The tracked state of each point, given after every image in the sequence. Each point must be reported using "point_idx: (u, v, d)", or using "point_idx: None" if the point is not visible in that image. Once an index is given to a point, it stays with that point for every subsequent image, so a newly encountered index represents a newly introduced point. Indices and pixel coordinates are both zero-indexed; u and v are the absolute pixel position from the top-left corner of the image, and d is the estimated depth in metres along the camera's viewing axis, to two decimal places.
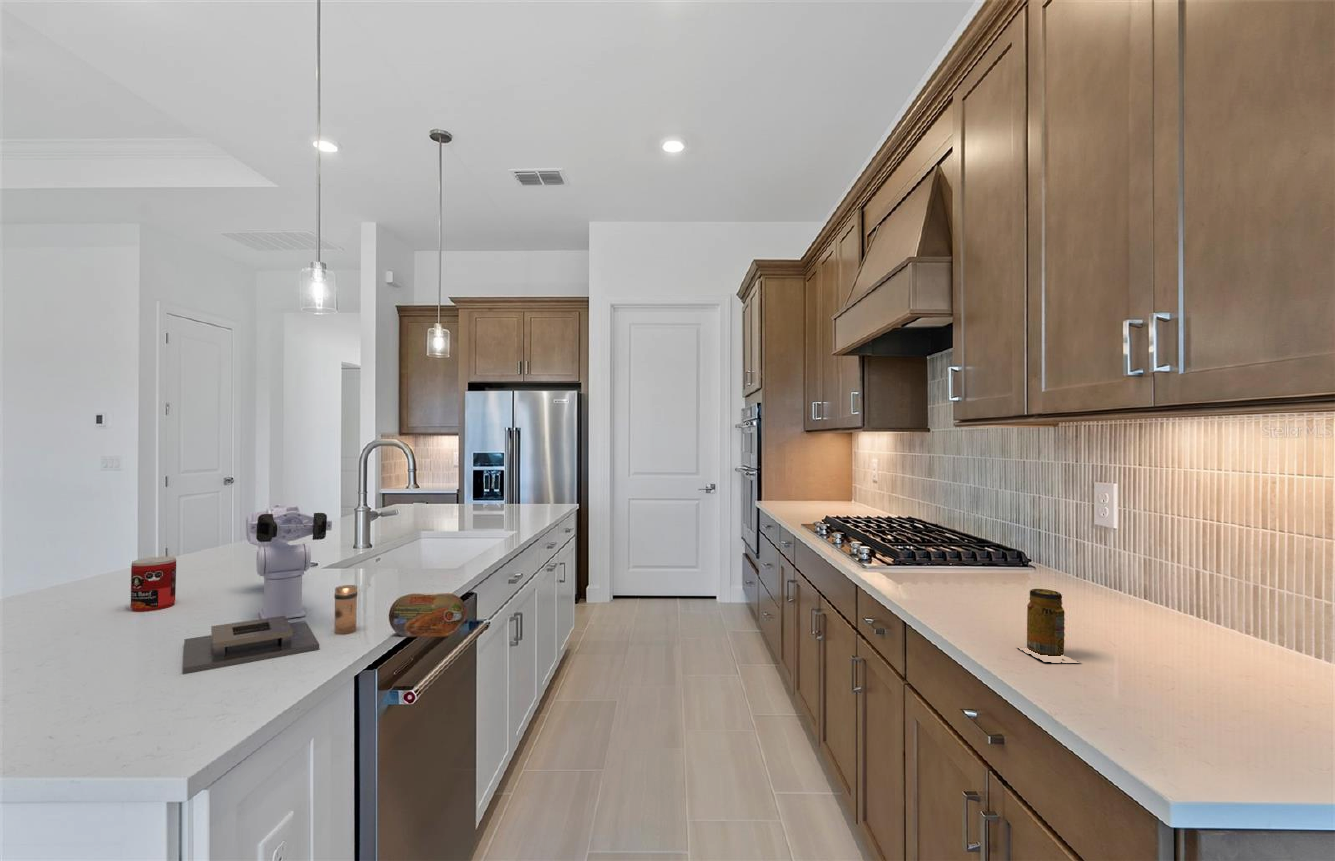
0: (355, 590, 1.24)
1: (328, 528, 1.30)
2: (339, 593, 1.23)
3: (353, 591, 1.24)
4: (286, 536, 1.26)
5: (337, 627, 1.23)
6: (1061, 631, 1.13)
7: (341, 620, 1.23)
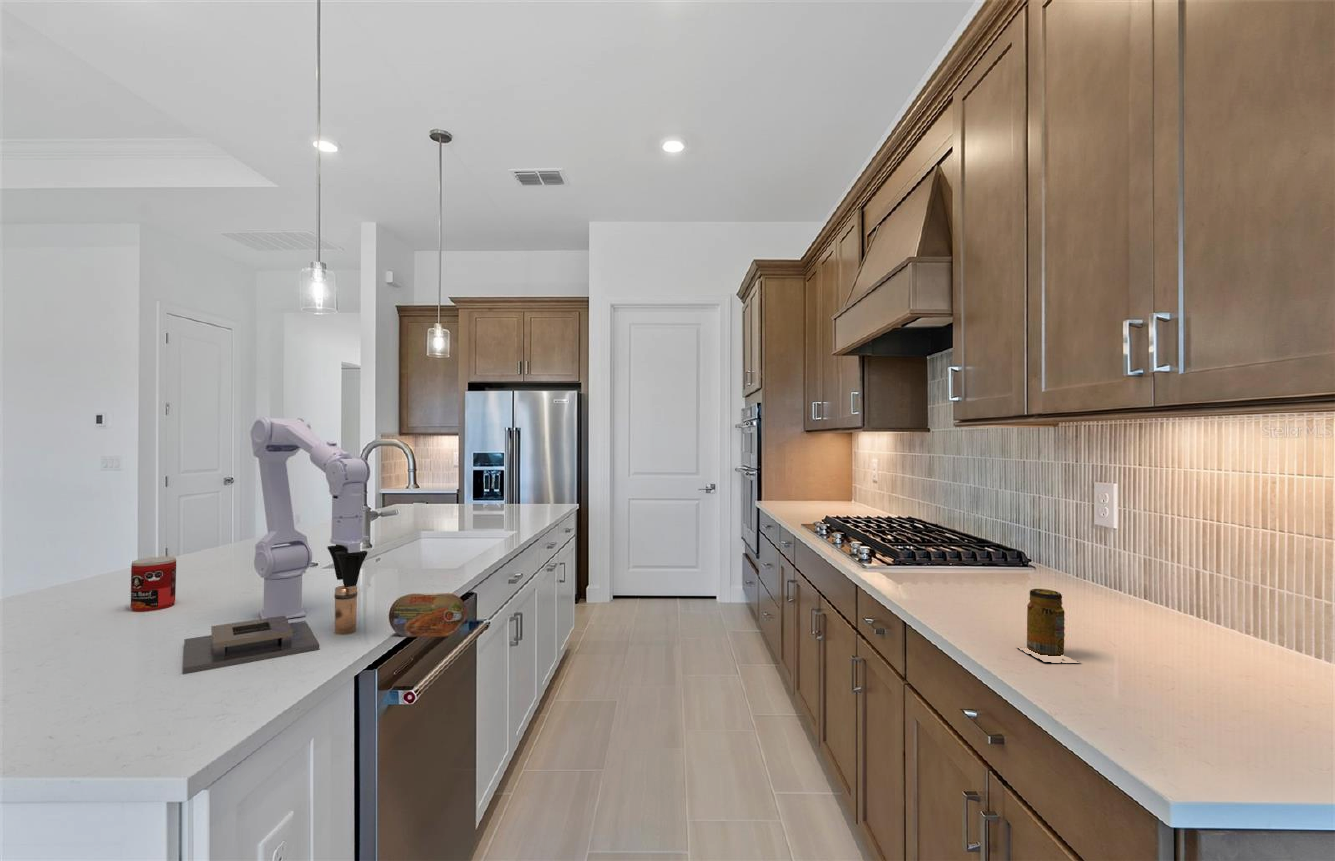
0: (355, 590, 1.24)
1: None
2: (339, 593, 1.23)
3: (353, 591, 1.24)
4: None
5: (337, 627, 1.23)
6: (1061, 631, 1.13)
7: (341, 620, 1.23)
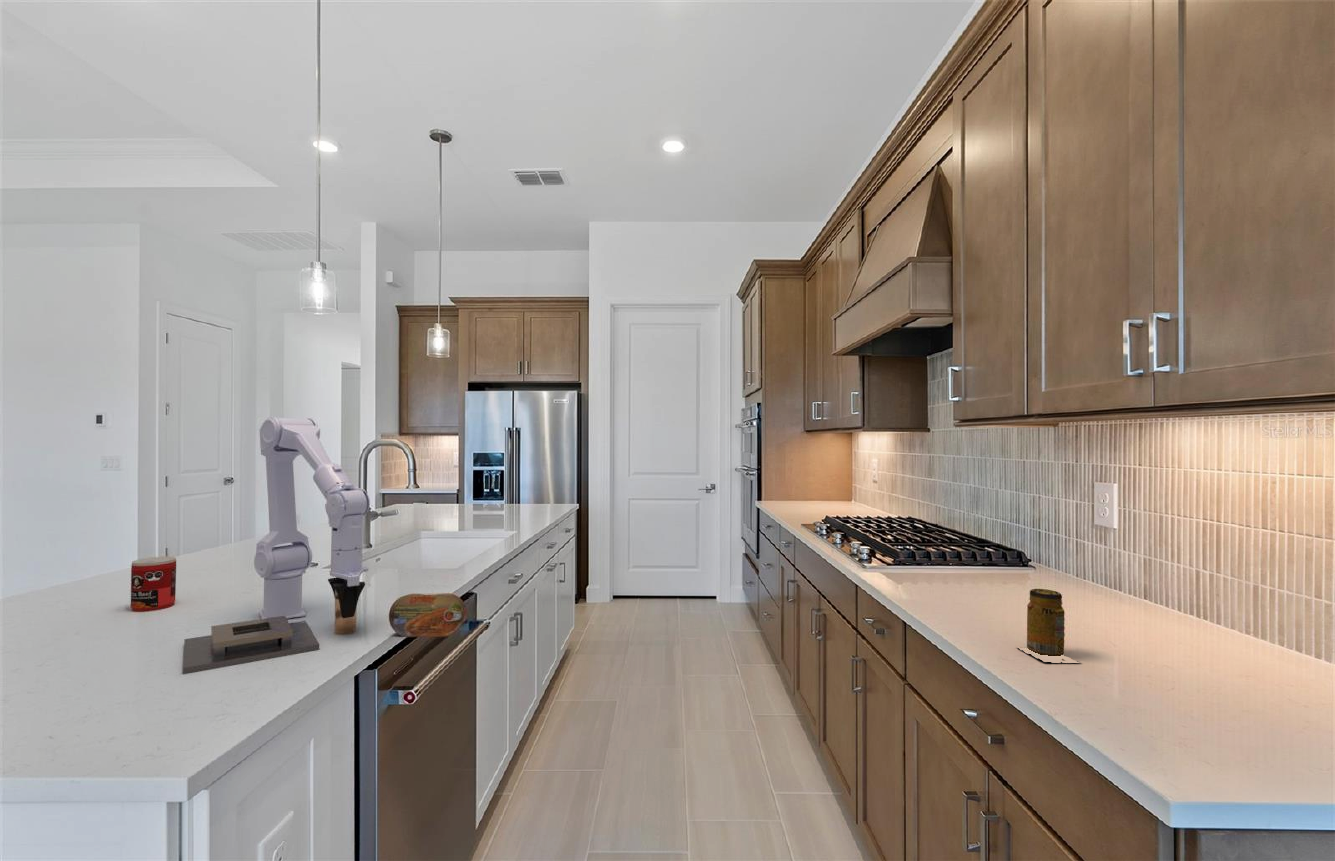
0: None
1: None
2: None
3: None
4: None
5: (337, 627, 1.23)
6: (1061, 631, 1.13)
7: (341, 620, 1.23)
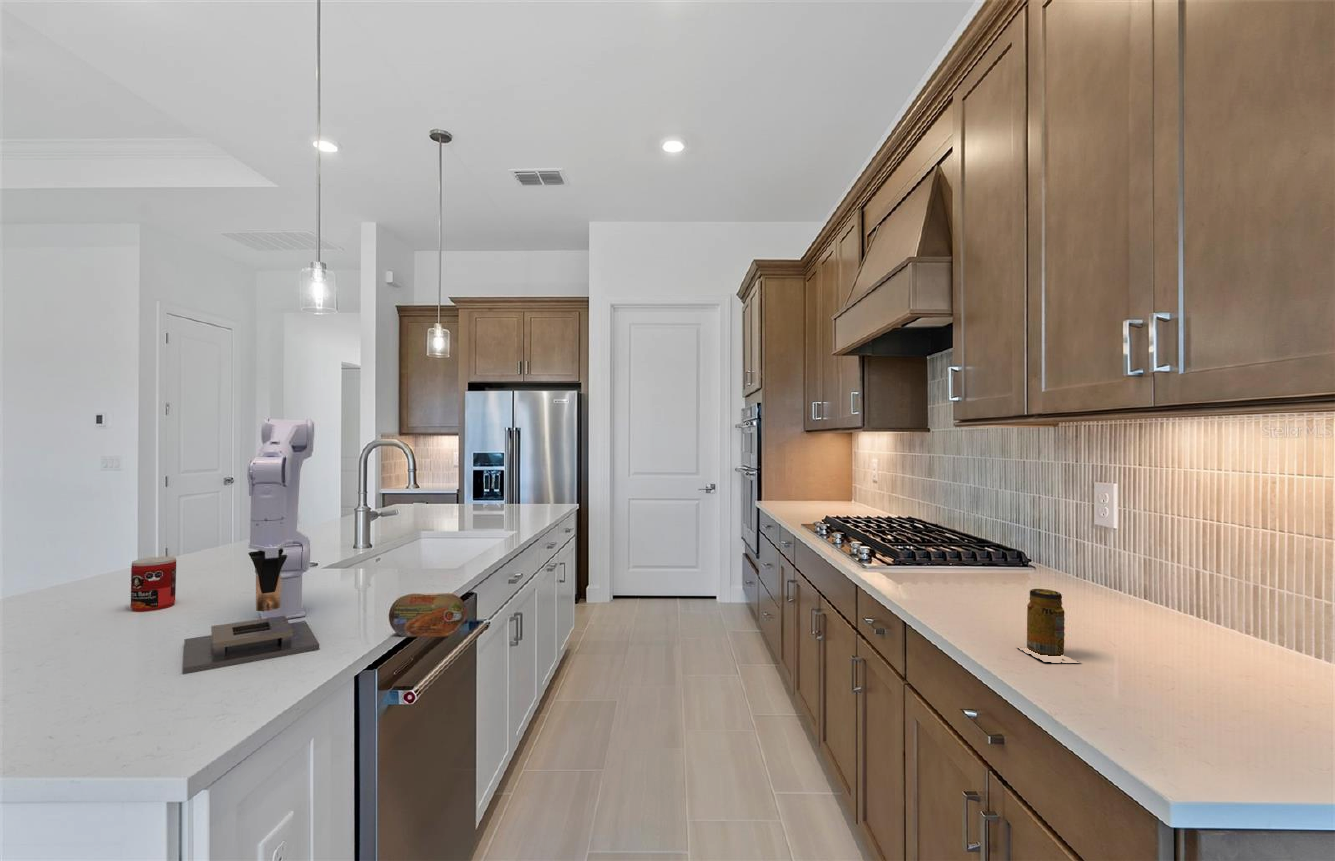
0: None
1: None
2: None
3: None
4: None
5: (258, 603, 1.14)
6: (1061, 631, 1.13)
7: (262, 596, 1.14)
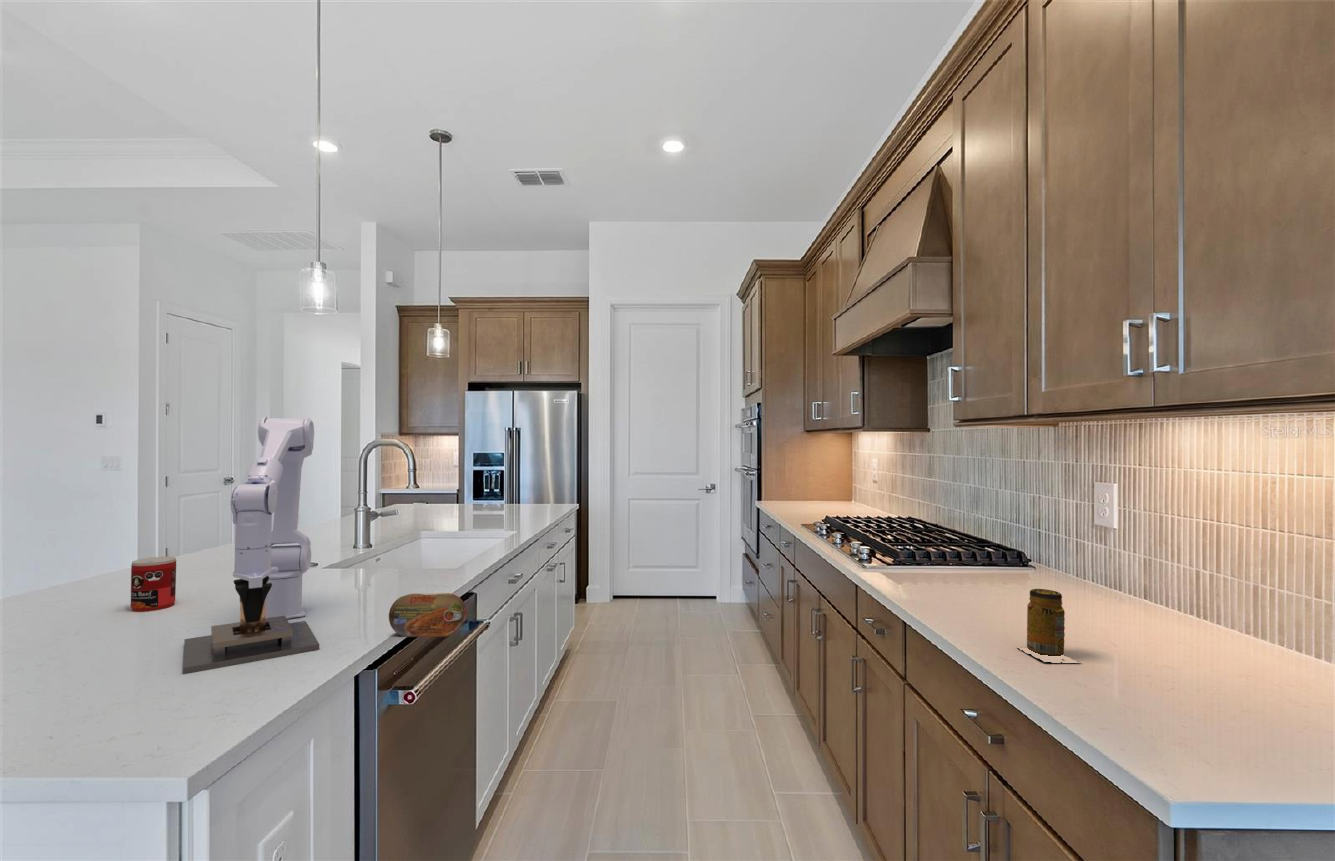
0: None
1: None
2: None
3: None
4: None
5: (242, 633, 1.13)
6: (1061, 631, 1.13)
7: (247, 625, 1.13)
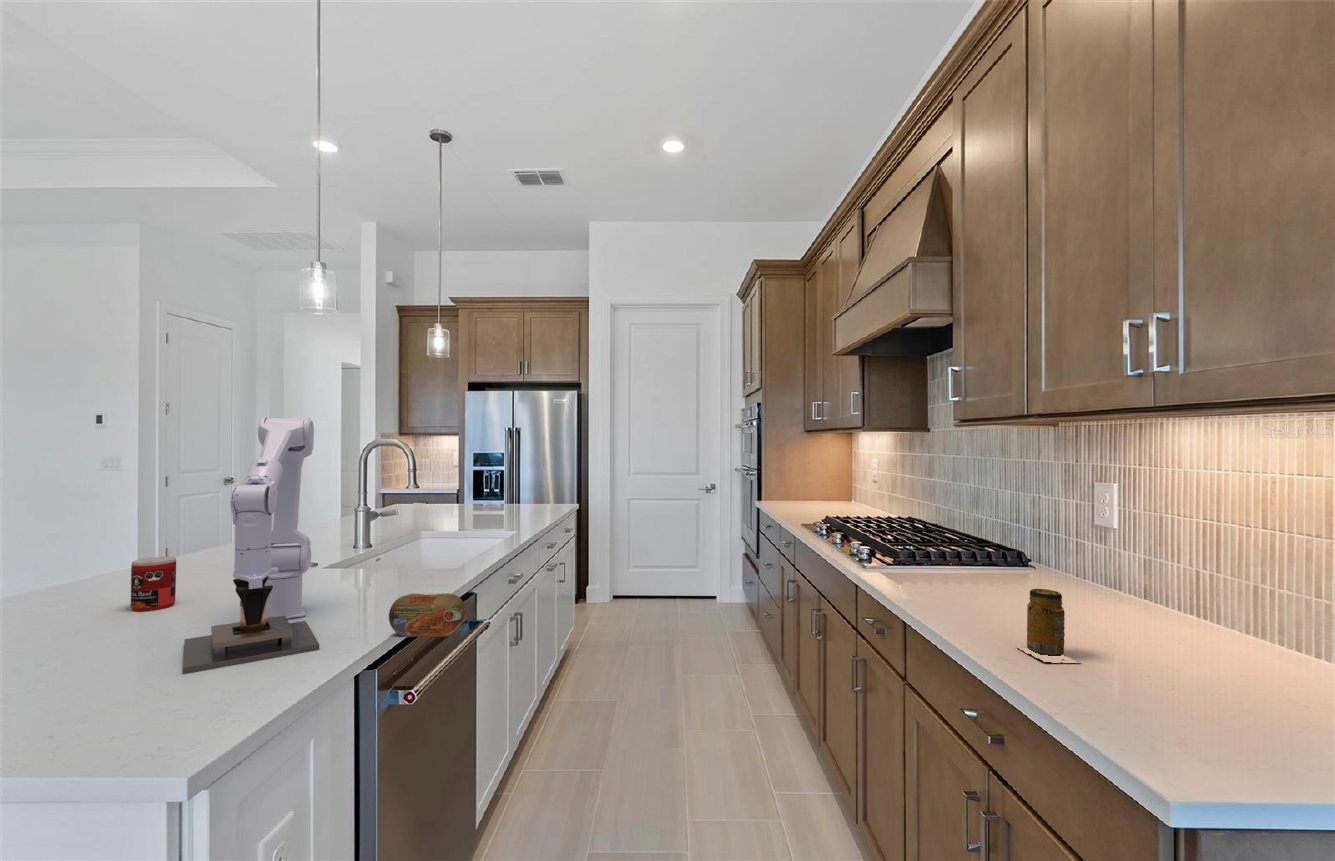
0: None
1: None
2: None
3: None
4: None
5: None
6: (1061, 631, 1.13)
7: (247, 629, 1.13)
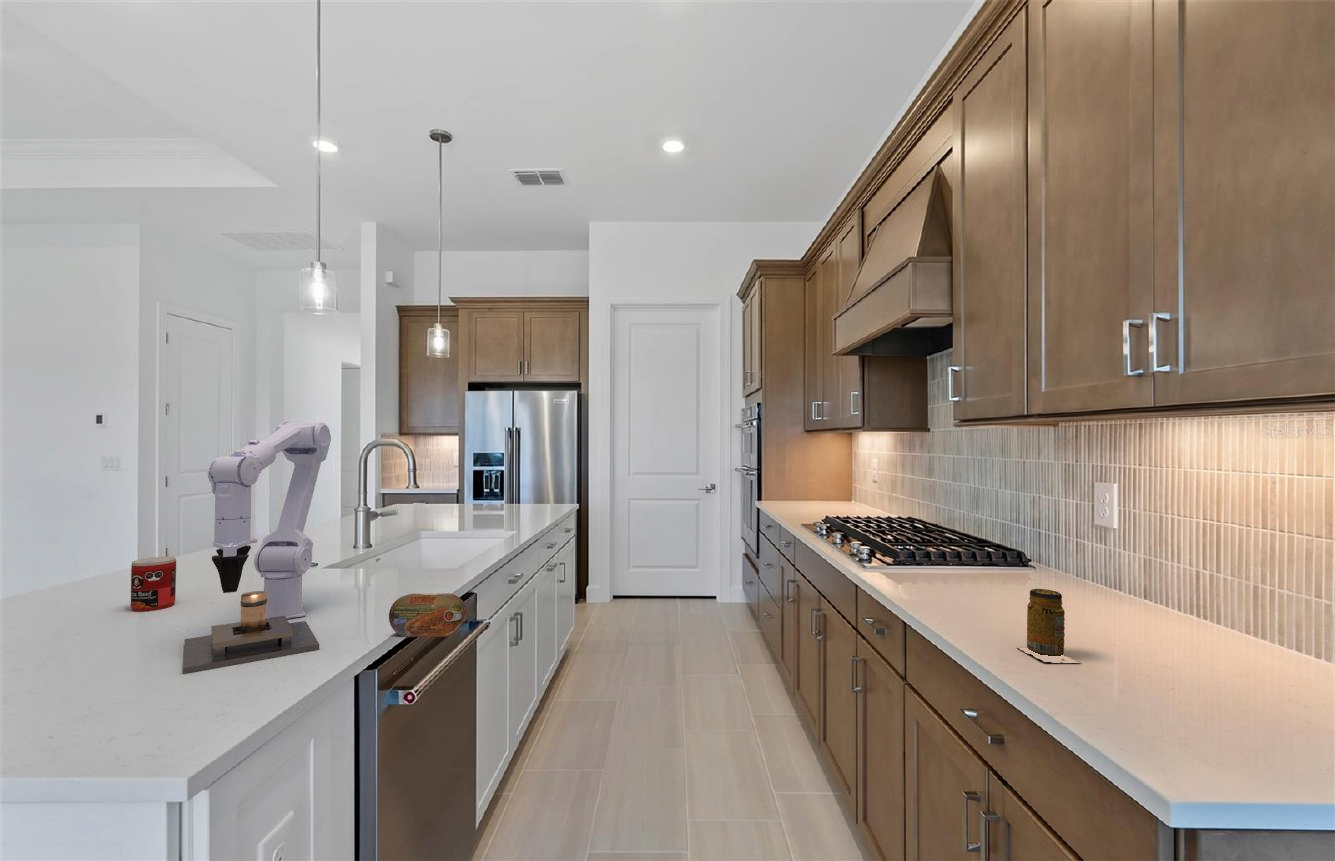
0: (264, 597, 1.15)
1: None
2: (245, 600, 1.13)
3: (261, 598, 1.14)
4: None
5: None
6: (1061, 631, 1.13)
7: (247, 629, 1.13)
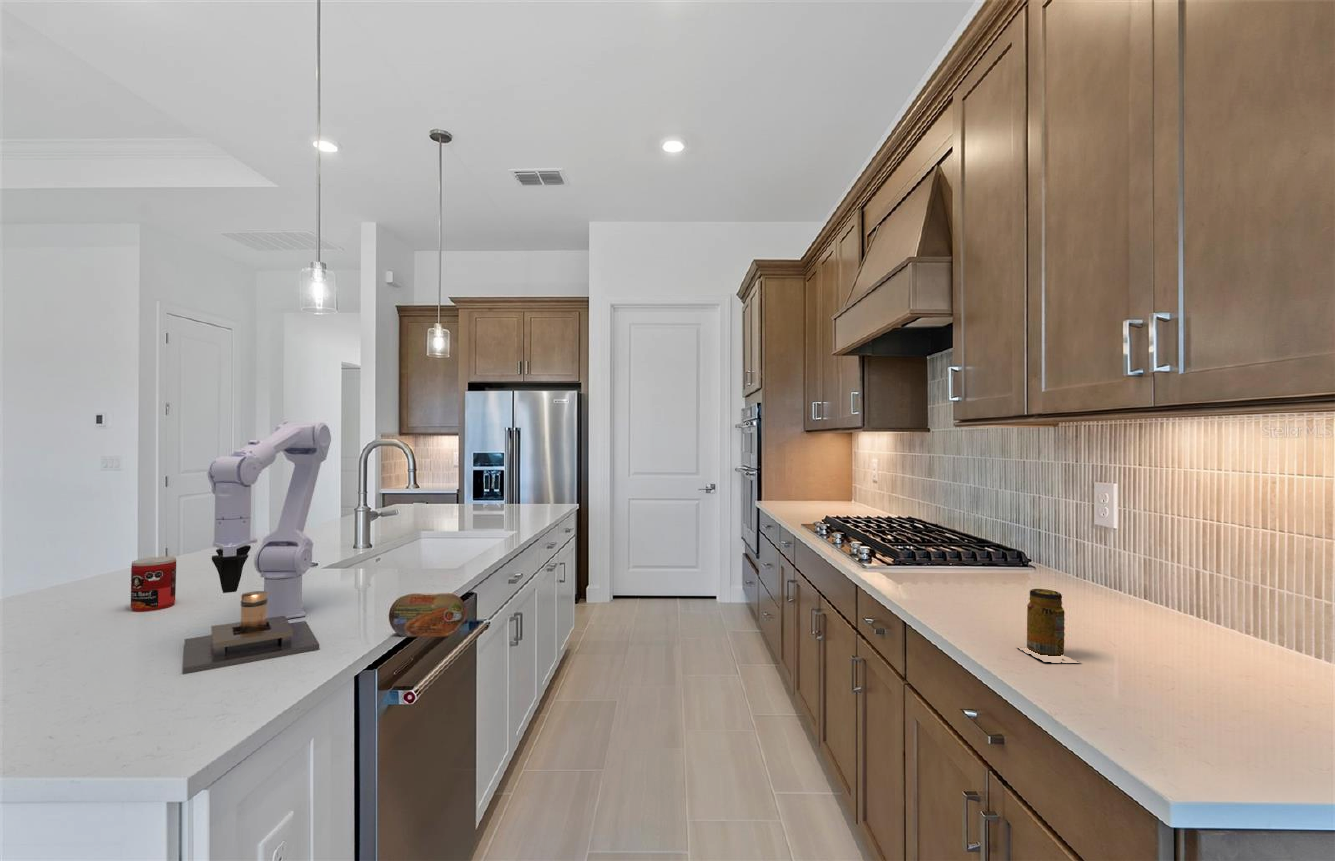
0: (264, 597, 1.15)
1: None
2: (245, 600, 1.13)
3: (261, 598, 1.14)
4: None
5: None
6: (1061, 631, 1.13)
7: (247, 629, 1.13)
